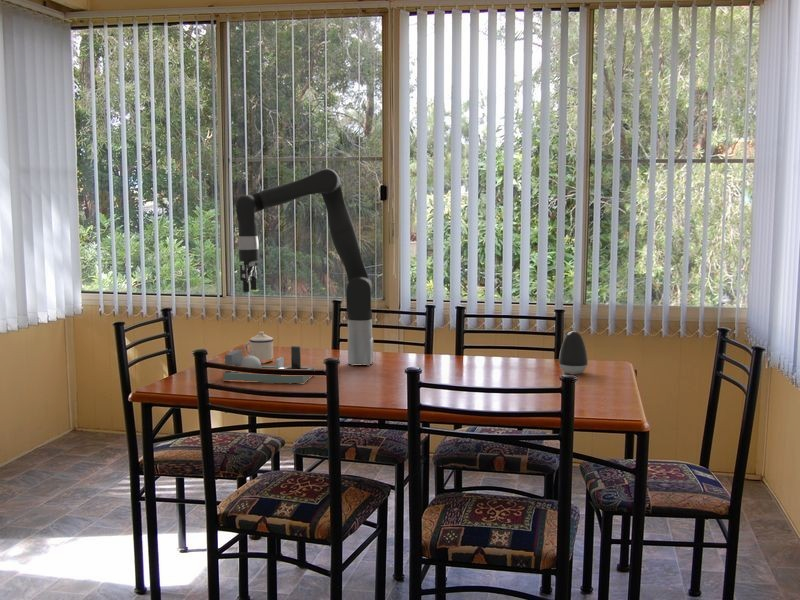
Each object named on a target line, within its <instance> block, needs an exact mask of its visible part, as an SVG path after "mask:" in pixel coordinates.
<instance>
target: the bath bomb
mask: <svg viewBox="0 0 800 600" xmlns="http://www.w3.org/2000/svg"><path fill="white" fill-rule="evenodd" d="M239 366H243V367H253V368H262V366H263V365H262V364H261V362H260V360H259V359H258V358H257V357H255V356H251V355H247V356H243V358H242V359H241V361H240V363H239Z"/></svg>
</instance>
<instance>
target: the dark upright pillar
mask: <svg viewBox="0 0 800 600" xmlns="http://www.w3.org/2000/svg"><path fill="white" fill-rule="evenodd" d="M301 352H302V351H301V345H292V346H291V347H290V355H291V356H290V357H291V358H290V359H291V362H290V363H291V364H290V365H291V366H290V367H291V369H301V367H302V363H301V361H302V360H301V357H302V356H301V355H302V354H301ZM284 359H285V357H284V356H279V357H278V358H276V359H275V360H274V366H275V369H288V367H284V366H285V360H284Z"/></svg>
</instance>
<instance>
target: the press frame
mask: <svg viewBox="0 0 800 600" xmlns="http://www.w3.org/2000/svg"><path fill="white" fill-rule="evenodd" d="M242 358H244V356H243V349H234V350H232V351H229V352H228V353H226V354H225V355H224V360H225V361H224V365H225V364H226V365H235V366H239V363H240V361H241V359H242ZM284 367H288V369H291V366H285V365H284ZM262 368H275V365H262ZM301 369H307V370H314V371H315V366H301ZM224 371H225V370H224ZM222 376H223V381H224V380H244V381H258V382H267V383H266V384H274V383H289V384H288V385H292V384H291V383H304V382H305V381H306V380H307V379H309V377H311V376H281V375H265V374H249V373H238V372H231V371H225V372H223V375H222ZM309 380H310V379H309ZM304 384H305V383H304Z"/></svg>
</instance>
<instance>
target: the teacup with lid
mask: <svg viewBox="0 0 800 600" xmlns="http://www.w3.org/2000/svg"><path fill="white" fill-rule="evenodd" d="M248 345H250V350H249V351H248ZM243 348H244V352H245V354H247V356H250V355H251V356H255V357H257V358H258V359H259V360H268V359H272V358H273V359H274V337H271V336H269V335H267V334H265V332H264V331H258V334H256V335H255V336H253V337H250V338H249V341H248V342H245V343H244V345H243Z"/></svg>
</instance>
